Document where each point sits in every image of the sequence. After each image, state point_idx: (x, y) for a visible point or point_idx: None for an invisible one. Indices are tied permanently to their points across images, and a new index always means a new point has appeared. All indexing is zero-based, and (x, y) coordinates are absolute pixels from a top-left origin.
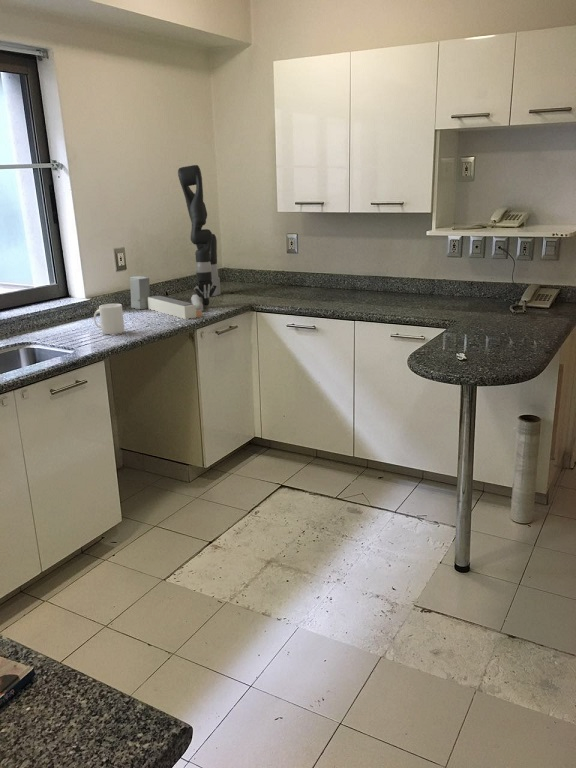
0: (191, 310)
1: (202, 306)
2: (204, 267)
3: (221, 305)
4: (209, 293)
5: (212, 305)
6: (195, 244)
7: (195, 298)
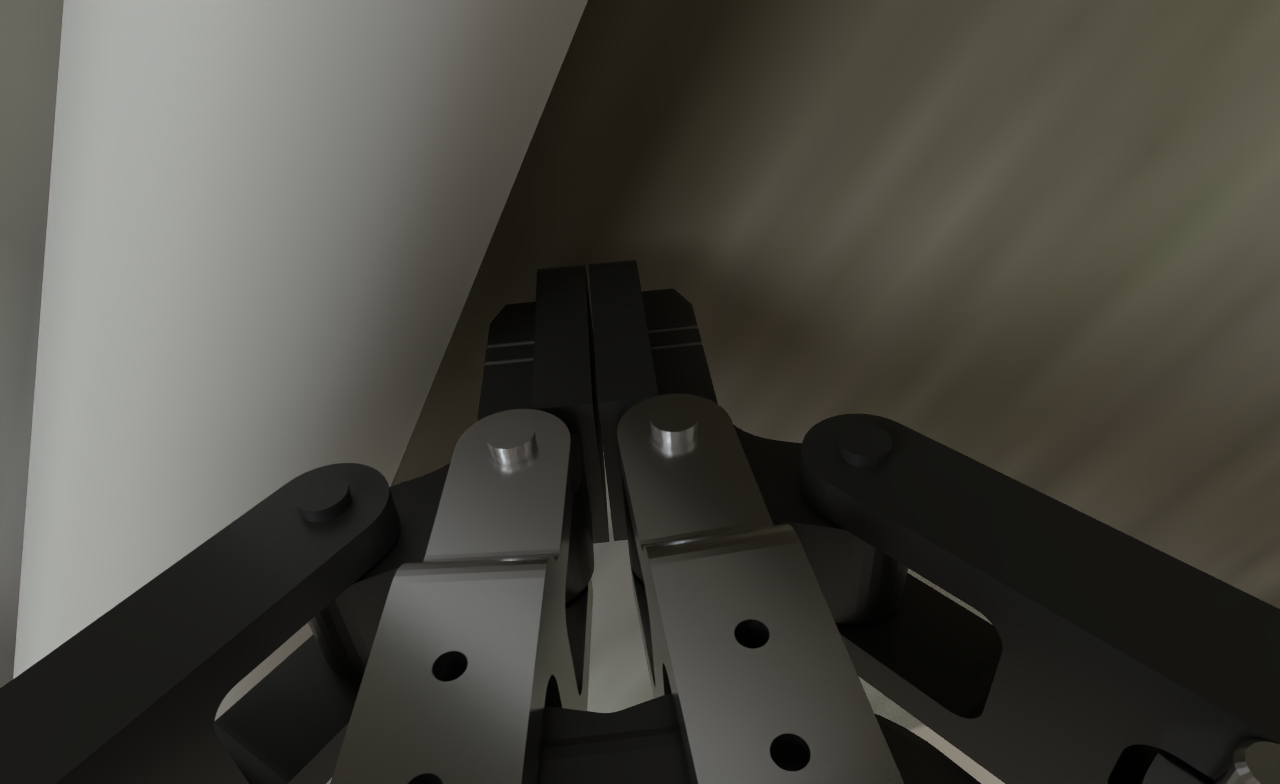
0: None
1: None
2: None
3: (1064, 304)
4: (872, 563)
5: (916, 123)
6: None
7: (199, 104)
